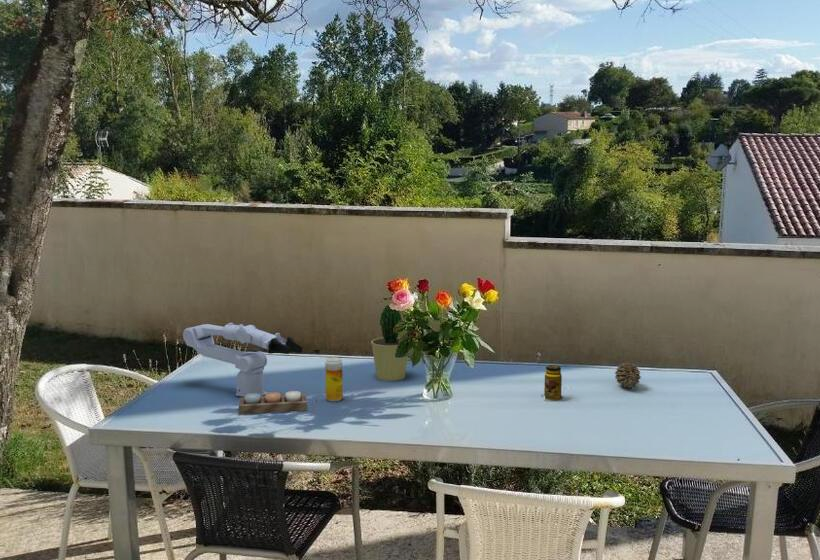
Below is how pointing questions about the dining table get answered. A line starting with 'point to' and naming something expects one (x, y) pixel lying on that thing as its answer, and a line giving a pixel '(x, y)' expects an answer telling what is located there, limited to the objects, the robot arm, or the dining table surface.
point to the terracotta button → (272, 397)
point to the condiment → (553, 383)
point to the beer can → (334, 379)
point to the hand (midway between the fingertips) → (295, 350)
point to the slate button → (252, 398)
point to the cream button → (293, 396)
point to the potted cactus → (388, 348)
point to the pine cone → (627, 375)
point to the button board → (272, 406)
